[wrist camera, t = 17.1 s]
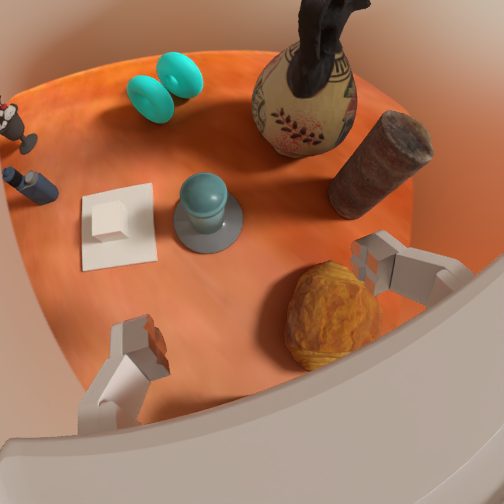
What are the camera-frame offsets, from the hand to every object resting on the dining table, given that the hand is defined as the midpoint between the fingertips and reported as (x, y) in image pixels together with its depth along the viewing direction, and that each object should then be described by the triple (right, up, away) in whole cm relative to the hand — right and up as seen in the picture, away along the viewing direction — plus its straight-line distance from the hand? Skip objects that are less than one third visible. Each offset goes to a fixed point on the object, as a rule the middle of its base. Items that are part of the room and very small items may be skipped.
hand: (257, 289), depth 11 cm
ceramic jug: (+6, +21, +35) cm, 41 cm away
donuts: (-15, +28, +34) cm, 47 cm away
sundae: (-46, +23, +31) cm, 60 cm away
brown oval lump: (+11, -9, +30) cm, 33 cm away
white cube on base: (-20, +5, +29) cm, 36 cm away
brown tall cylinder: (+15, +10, +34) cm, 38 cm away
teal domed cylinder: (-7, +6, +30) cm, 31 cm away
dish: (-7, +6, +31) cm, 32 cm away
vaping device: (-36, +11, +29) cm, 47 cm away
